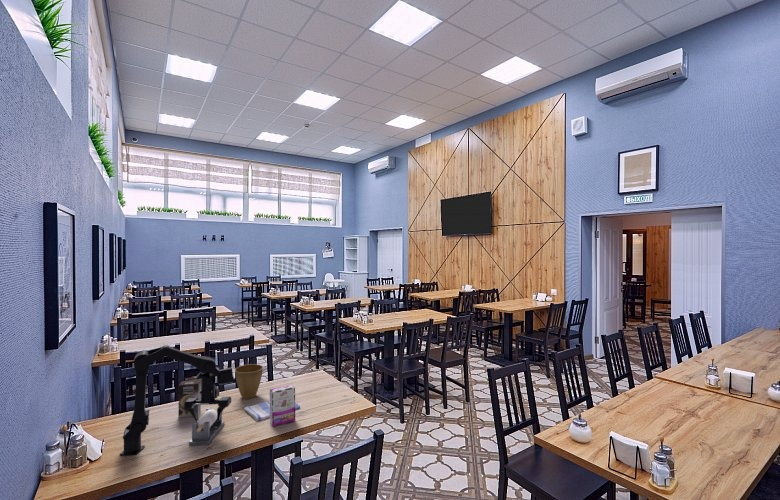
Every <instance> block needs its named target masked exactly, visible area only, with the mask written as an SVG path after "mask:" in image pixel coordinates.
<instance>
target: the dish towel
mask: <svg viewBox="0 0 780 500" xmlns="http://www.w3.org/2000/svg"><path fill="white" fill-rule="evenodd" d="M299 409H301V406H300V405H299V404H297V403H296V402H295V411H297V410H299ZM244 410H245V413H247V414H248V415H249V416H250V417H252V418H253V419H254V420H255V421H256V422H259V421H263V420H267V419H270V400H269V401H264V402H260V403H257V404H254V405H250V406H249V405H246V406H245V407H244Z"/></svg>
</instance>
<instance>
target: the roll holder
mask: <svg viewBox="0 0 780 500" xmlns="http://www.w3.org/2000/svg"><path fill="white" fill-rule="evenodd" d="M210 409H212V407H206V408H205V412H206V411H207V410H210ZM224 425H225V420H223V414H222V415H221V417H220V420H219V422H218V420H216V421H215V422H214V423H213V424H212V426H211V427H210V422H205V423H204V430H201V431H200V432H197V431H196V430H197V428H198V422H196V421H194V422H193V423H191V439H190V440H189V441H188V446H189V447H190V446H207V445H209V446H210V444H211V442H212V441H213V440H214V438H216V436H217V434H218V433H219V432H220V430H221V429H223V426H224Z"/></svg>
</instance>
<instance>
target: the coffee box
mask: <svg viewBox="0 0 780 500" xmlns="http://www.w3.org/2000/svg"><path fill="white" fill-rule="evenodd" d="M200 391H201V379H195V380H182V381H181V382H180V383H179V385H178V411H177V412H178V413H177V414H178V416H177V418H188V417H189V418H190V417H193V416H192V414H191V413H190V412H189V411H188V410H187V409H184V402H185V401H187V400H188V399H189V398H198V400H201V394H200ZM201 406H202V405H198V416H199V415H200V414H201V411H202V409H201V408H202V407H201Z"/></svg>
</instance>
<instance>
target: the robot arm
mask: <svg viewBox="0 0 780 500" xmlns="http://www.w3.org/2000/svg"><path fill="white" fill-rule="evenodd" d="M163 358H169V359H171V360H175V361H178V362H181V363H184V364H187V365H189V366H190V365H191V366H193V367H195V368H196V369H198V370H199V371H200V372H199V373H197V375H195V377H196V380H201V391H200V394H201V400H198V398H189V399H188V400H187V401H185V402H184V409H187V410H188V411H189V412H190V413H191V414H192V416H191V417H193V419H194V422H197V421H198V420H199V415H198V405H201V406H202V405H204V406H207V405H217V406H218V407H217V408H216V412H217V420H218V422H219V420H220V417H221V415H222V416H223V411H224V410H225V408H228V407H229V406H230V405H231V403H232V396H221V398H220V399H217V398H218V397H220V391H221V389H219V388H218V389H217V386H216V383H217V384H218V385H219V386H222V385H226V384H233V383H234V372H233V368H232V367H227V368H223V369H222V368H221V369H220V368H219V366H217V364H216V361H215V359H214V358H212V357H210V356H205V355H195V354H193V353H190V352H187V351H183V350H180V349H177V348H174V347H173V346H172V347H171V346H170V345H167V344H166V345H165V344H164V345H163V346H160V347H157V348H153V349H150V350H147V351H146V350H142V351H140V352H138V353H136V354H135V356H134V358H133V359H134V360H133V367H134V373H135V376H136V377H135V392H134V406H133V412H132V416H131V421H130V423H129V424H128V425H127V426H126V427H125V428H124V431H123V436H122V440H123V450H122V451H121V452H120V453H119V456H134V455H138V454H139V453H140V452H141V451H142V450H143V449H144V448H145V446H146V445H144V444H143V445H142V433H143V432H144V431H145V430H146V429H147V426H149V424H150V418H149V417H150V409H146V397H147V395H146V394H147V378H148V377H147V375H148V372H149V368H150V365H151V364H153V363H156V362H158V361H159V360H161V359H163Z"/></svg>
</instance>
